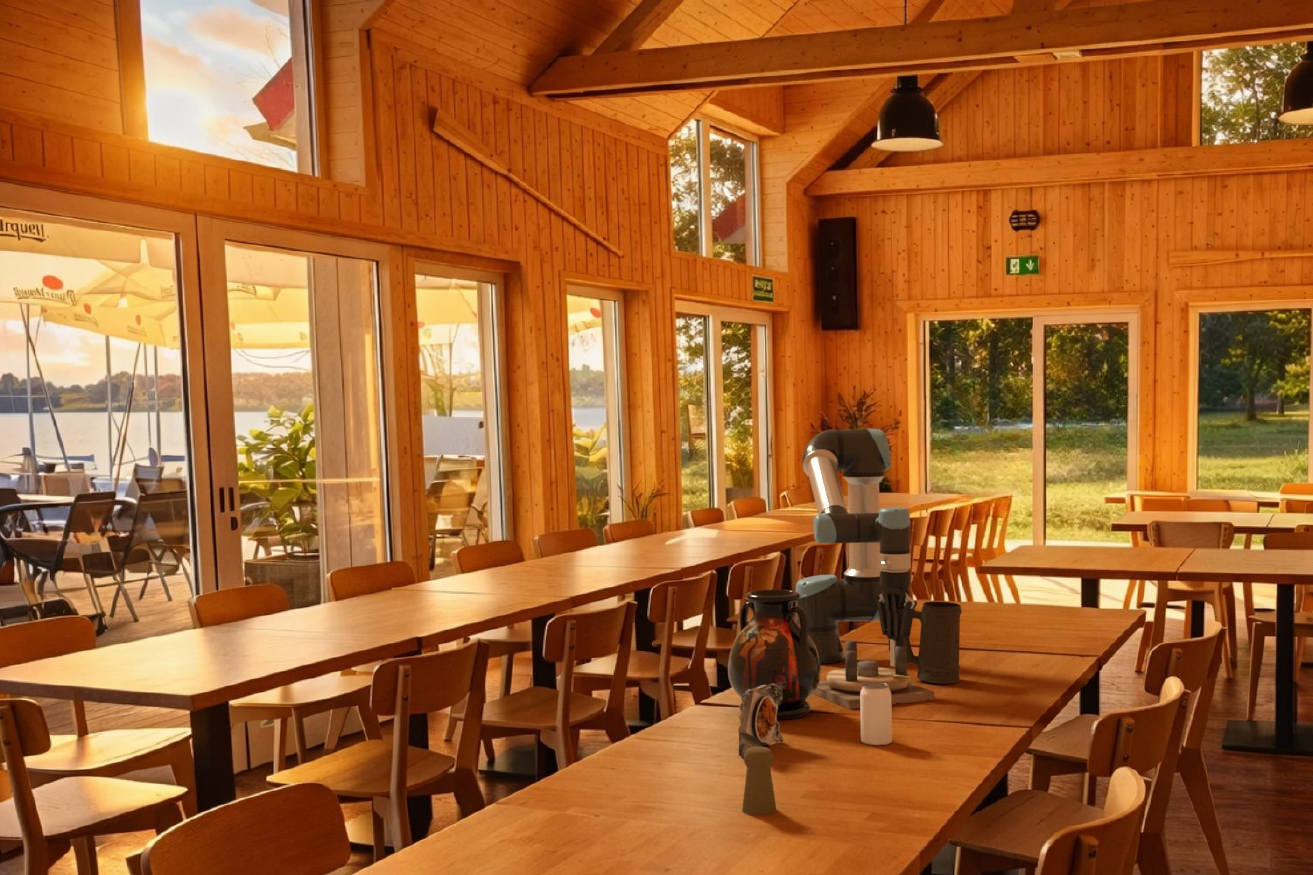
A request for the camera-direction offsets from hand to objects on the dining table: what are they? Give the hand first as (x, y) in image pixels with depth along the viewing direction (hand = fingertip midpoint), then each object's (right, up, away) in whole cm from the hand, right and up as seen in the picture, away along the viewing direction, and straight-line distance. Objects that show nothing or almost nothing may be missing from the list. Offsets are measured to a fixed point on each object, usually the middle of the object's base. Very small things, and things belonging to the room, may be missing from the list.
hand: (896, 665), depth 321 cm
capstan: (-7, -4, -3) cm, 9 cm away
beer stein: (+12, -6, +13) cm, 18 cm away
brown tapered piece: (-41, -9, -94) cm, 103 cm away
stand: (-7, -7, -3) cm, 10 cm away
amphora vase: (-32, -8, -20) cm, 38 cm away
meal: (-37, -9, -53) cm, 65 cm away
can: (-13, -8, -48) cm, 51 cm away
